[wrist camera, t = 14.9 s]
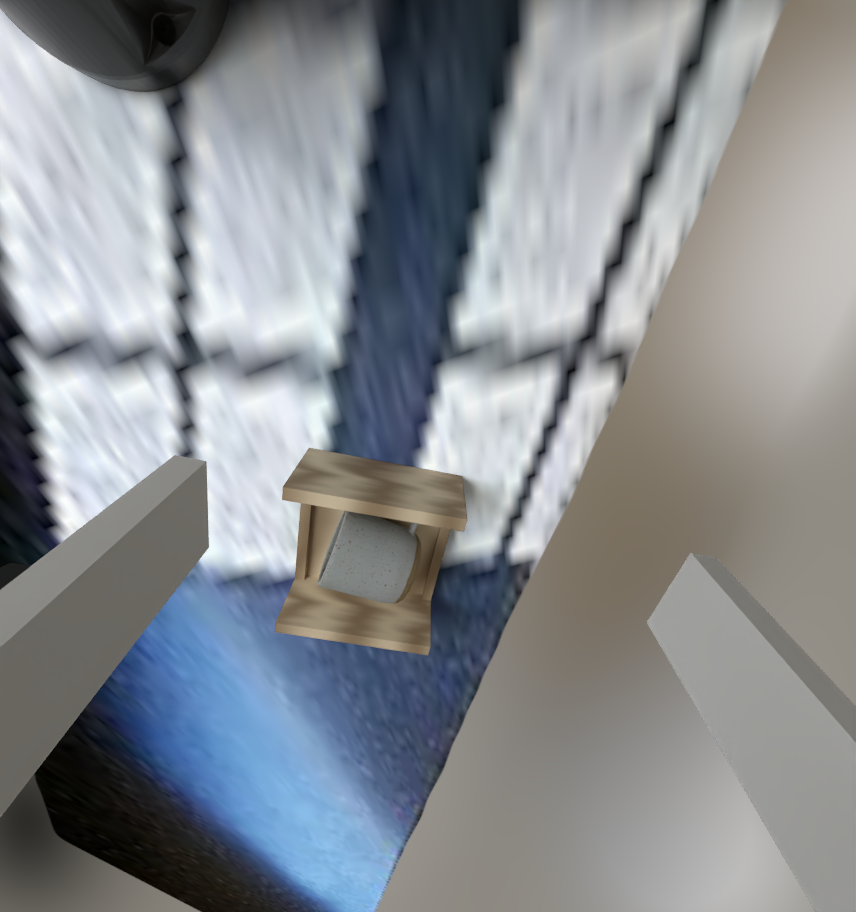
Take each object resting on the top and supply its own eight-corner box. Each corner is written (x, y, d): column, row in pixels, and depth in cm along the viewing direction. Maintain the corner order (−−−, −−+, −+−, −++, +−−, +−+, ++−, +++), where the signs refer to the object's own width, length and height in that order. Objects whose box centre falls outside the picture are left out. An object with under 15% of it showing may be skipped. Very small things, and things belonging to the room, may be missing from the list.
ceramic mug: (399, 572, 44) (393, 628, 37) (327, 547, 43) (307, 601, 36) (439, 494, 40) (440, 541, 33) (360, 465, 39) (345, 507, 32)
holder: (298, 577, 46) (275, 632, 39) (309, 447, 39) (282, 487, 32) (428, 598, 47) (427, 655, 40) (461, 476, 40) (467, 519, 33)
